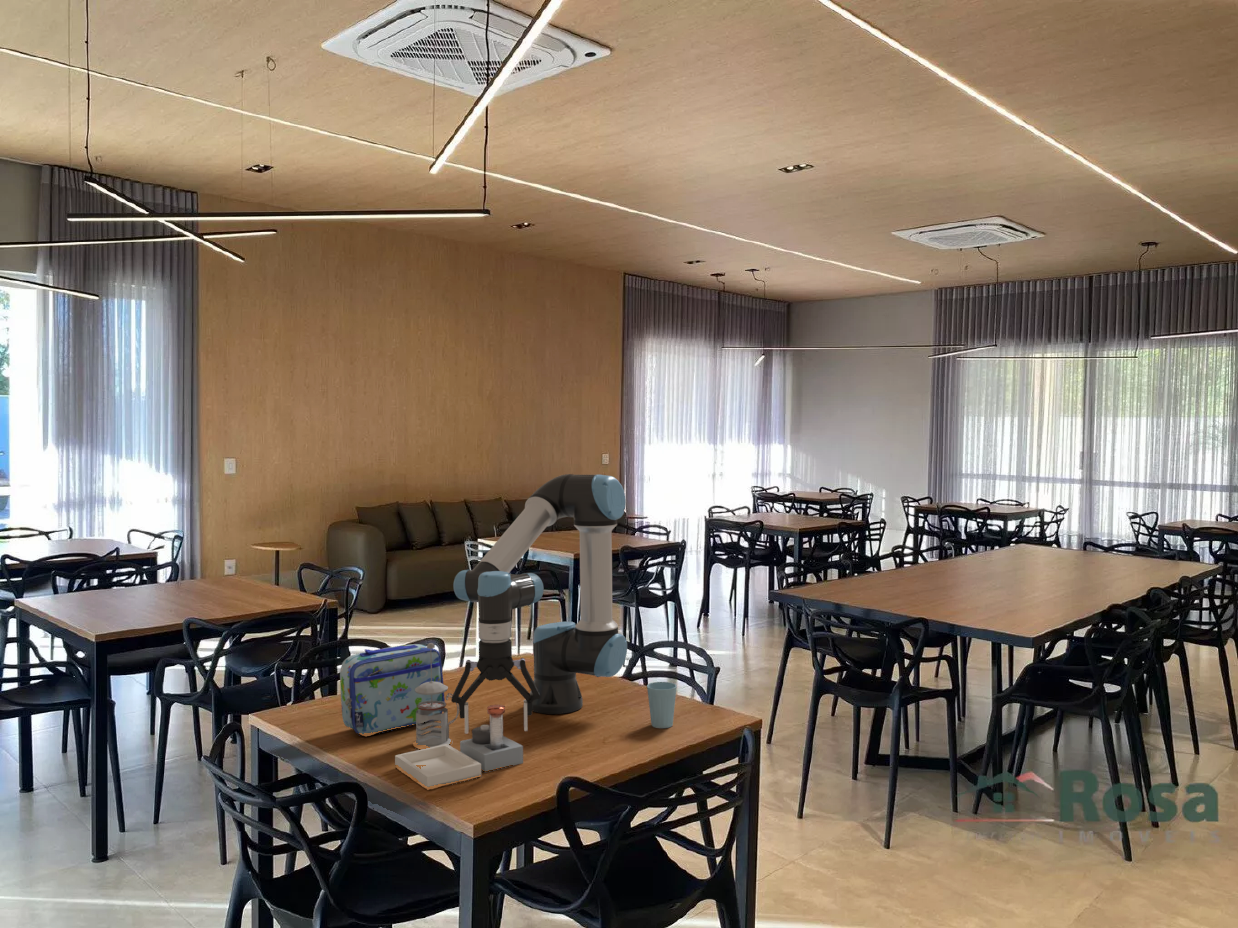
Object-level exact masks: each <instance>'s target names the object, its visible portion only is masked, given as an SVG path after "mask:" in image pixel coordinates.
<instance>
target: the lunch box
mask: <svg viewBox="0 0 1238 928" xmlns="http://www.w3.org/2000/svg"><path fill="white" fill-rule="evenodd" d="M431 658H432V681H433V682H440V683H442V684H444V676H443V669H442V667H443V666H442V660H441V659H442V658H441V654H440V651H438V650H437V649H436V648H431V650H430V649H429V648H427V645H424V644H418V643H415V644H414V643H413V644H403V645H396V646H391V647H390V646H389V647H383V648H378V649H374V650H373V649H372V650H371V649H365V648H364V652H359V653H356V654H355V653H354V654H352V655H350V656H348V657H347V658H345V659H344V660H343V661H342V663H341V666H340V671H339V679H340V681H339V682H340V685H339V686H340V704H341V705H340V706H341V717H342V720H343V721H342V722H343V724H344V725H345V726H346V727H347V728H349V727H350V729H351V728H352V729H351V730H354V732H355V734H357V733H358V734H359V733H362V734H364V733H371V732H372V733H373V732H378V731H383V730H387V729H391V728H395V727H401V726H407V725H412V724H416V711H417V710H418V709H419V708H418V707H417V705H418V704H419V703H422V702H426V701H431V695H422V694H418V693H416V692H415V688H417V687H418V686H420V685H421V684H423V683H425V682H430V681H431ZM435 700H436V701H444V702H445V703H446V701H445V700H446V697H445V692H444V693H440V694H435V695H432V701H435ZM436 713H441V714H443V712H442V711H440V710H439V711H434V712H432V713H431V714H429V715H426V716H432V715H434V714H436ZM430 721H432V720H429V721H426V722H425V723H428V722H430ZM358 734H357V735H358Z"/></svg>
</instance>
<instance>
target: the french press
mask: <svg viewBox="0 0 1238 928" xmlns="http://www.w3.org/2000/svg"><path fill="white" fill-rule="evenodd" d="M426 647H427V648H429V649H430V650H431V648H433V649H436V646H435V643H433V642H429V643H427V645H426ZM448 688H449V686H448V685H445V684H444V683H443V684H442V683H440V682H433V681H432V658H431V681H430V682H425V683H423V684H421V685H420V686H418V687H417V688H415V692H416V693H418V694H422V695H431V701H426V702H422V703H419V704H418V705H417V707H418V708H419V709H418V710H417V711H416V725H415V731H416V732H415V734H416V735H415V737H416V740H415V741H416V743H418V744H417V745H426V746H428V747H435V746H439V745H444V744H448V745H449V744H450V742H451V740H452V739H450V725H451V724H453V723H455V721H456V720H457V718H458V717H459V715H460V709H459V704H458V703H455V704H456V714H455V715H456V716H455V717H454V719H451V720H450V721H449V718H448V716H449V714H448V713H449V711H448V708H447V702H446V701H448V700H449V698H451V699H452V695H453V693H447V694H446V696H445V700H446V701H445V702H444V701H436V700H435V701H432V695H435V694H440V693H444V694H445V692H447V691H448ZM439 710H440V711H442V714H441V713H436V714H434V715H432V716H426V715H429V714H431V713H432V712H434V711H439ZM429 720H432V721H429ZM426 721H428V722H426ZM424 722H425V723H424Z"/></svg>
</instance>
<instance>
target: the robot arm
mask: <svg viewBox="0 0 1238 928" xmlns="http://www.w3.org/2000/svg"><path fill="white" fill-rule="evenodd" d="M626 501H627V500H626V495H625V490H624V487H623V485H622V484H621V483H620V481H619V480H618V479H617V478H616V477H615V476H612V475H605V474H573V473H568V474H567V473H566V474H561V475H558V476H556V477H553V478H552V479H549V480H548V481H547V482H545V483H544V484H542V485H541V486H539V488H537V489H536V490H535V491H534V492H533V493H532V494H531V495H530V496H529V498H527V499H526V501H525V504H524V508H523V510H522V511H521V512H520V513H519V515H518V516H517V517H516V518H515V520H514V521H513V522H512V523H511V524H510V525H509V527H508V528H507V529H506V530H505V531H504V532H503V533H502V535H501V536H500V537H499V538H498V539H497V540H496V542H495V543H494V544H493V545H492V547H491V548H490V549H489V550H488V551H487V552H486V553H485V555H484V556H483V557H482V559H481V560H480V561H479V562H478V563H477V564H476V565H475V566H474V567H473V569H472V570H471V569H464V570H463V569H462V570H461V571H459V572H457V574H456V575H455V576H454V580H453V584H452V585H453V586H452V587H453V591H454V594H455V596H456V598H457V599H459V600H462V601H466V602H469V603H478V604H477V605H478V607H477V608H478V626H477V627H478V639H480V640H479V641H478V661H472V660H470V659H466V661H465V665H464V670H463V673H462V675H461V677H460V679H459V681H458V683H457V685H456V688H455V689H454V691H453V693H452V695H451V697H452V698H451V699H450V700H451V702H452V703H455V704H456V703H457V705H458V704H459V708H458V710H459V719H464V734H468V735H469V732H470V731H469V729H470V727H469V726H470V725H469V724H470V723H469V702H468V700H469V699H470V697H471V696H472V695H473V694H474V693H475V691H476V690H477V689H478V688H479V686H480V685H481V684H482V683H483V682H484V681H485V679H486V680H488V681H503V680H504V679H506V680H507V681H508V682H509V683H510V684H511V686H513V687H514V688H515V689H516V690H517V691H518V693H519V694H520V695H521V696H522V697H523V698H524V699H523V730H524V732H528V731H529V730H528V717H529V716H532V715H533V712H535V713H538V714H546V715H548V714H549V715H559V714H560V715H561V714H568V713H573V712H576V711H578V710H580V709H582V707H583V700H584V699H583V696H582V692H581V690H580V687H579V683H578V681H577V674H583V675H589V676H593V677H594V676H595V677H597V678H599V677H600V678H601V677H603V678H604V677H605V678H611V677H613V676H616V674H618V673H619V672H620V670H621V669H622V667H623V665H624V664H625V660H626V658H627V652H628V642H627V639H626V637H625V636H624V634H621V633H619V624H618V623H617V622H616V621H615V620H614V619H613V618H614V617H613V554H612V553H613V551H612V548H613V545H612V544H613V543H612V542H613V541H612V531H613V530H614V529H615V527H617V526H618V520H619V519H621V518H622V517H623V515H624V513H625V511H624V510H625V509H626V505H627V504H626V503H627V502H626ZM566 517H568V518H573V526H574V527H575V528H576V530H578V532H579V580H580V581H579V582H580V583H579V585H580V590H579V591H580V592H579V593H580V620H579V621H578V622H577V623H575V622H573V621H558V622H550V623H547V624H546V623H545V624H541V625H539V626H537V627H536V628H535V629H534V631H533V641H532V644H533V678H532V676H531V674H530V672H529V670H528V669H527V665H526V658H525V657H521V658H520V659H514V660H513V657H512V656H513V651H512V650H513V649H512V648H513V647H512V645H513V643H512V640H511V638H512V610H516V609H519V608H522V607H527V606H529V607H530V606H531V605H533V604H535V603H537V602H539V601H540V600H541V599H542V597H543V594H544V583H543V581H542V579H541V577H540V576H539V575H537V574H536V573H533V572H527V573H525V572H523V573H521V574H515V573H514V574H511V573H510V572H511V571H512V570H513V569H514V568H515V566H516V565H517V564H518V562H519V561H520V560H521V559H522V557H523V556H524V555H525V554H526V552H528V550H529V549H530V548H531V546H533V544H534V543H535V542H536V540H537V539H538V538H539V537H540V535H541V534H543V532H544V531H545V529H546V528H547V527H550V526H553V525H554V524H555V523H556V522H557V521H558V520H559V519H562V518H566ZM514 667H516V668H517V670H520V671H521V674H522V676H523V678H524V680H525V682H526V684H527V686H528V687H529V689H530V692H529V691H528V690H527V689H526V687H524V686H523V684H522V683H521V682H520V681H519V680H518V678H517V677H516V676H515V675H514V674H513V673H512V672H511V671H512V669H513V668H514ZM475 668H477V670H478V671H479V672H480V673H479V674H478V676H477V677H476V678H475V679H474V680H473V682H472V683H471V684H470V686H469V687H468V688H467V690H465V691H464V693H463V694H462V695H461V696H460V694H461V692H462V690H463V689H464V686H465V685H466V682H467V679H468V678H469V676H470V673H471V672H473V671H474V670H475Z"/></svg>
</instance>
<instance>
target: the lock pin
mask: <svg viewBox="0 0 1238 928" xmlns="http://www.w3.org/2000/svg"><path fill="white" fill-rule="evenodd" d="M486 712H487V714H488V715H489V726H490V750H492V751H495V750H499V749H503V736H504V719H503V717H504V714H505V713H506V706H505V705H503V704H491V705H488V706H487V711H486Z"/></svg>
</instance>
